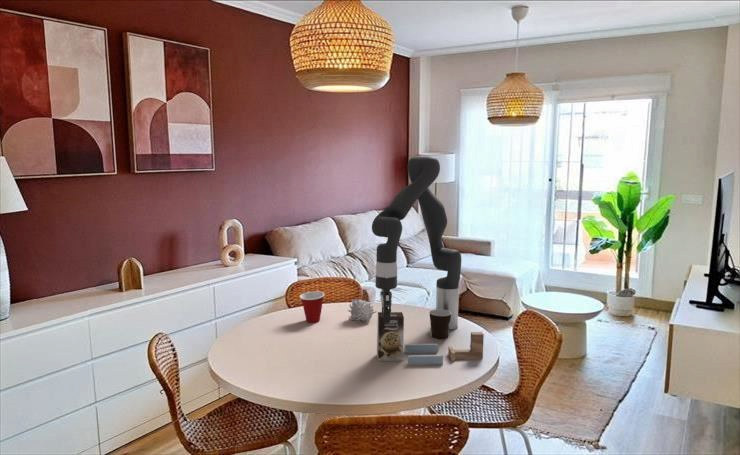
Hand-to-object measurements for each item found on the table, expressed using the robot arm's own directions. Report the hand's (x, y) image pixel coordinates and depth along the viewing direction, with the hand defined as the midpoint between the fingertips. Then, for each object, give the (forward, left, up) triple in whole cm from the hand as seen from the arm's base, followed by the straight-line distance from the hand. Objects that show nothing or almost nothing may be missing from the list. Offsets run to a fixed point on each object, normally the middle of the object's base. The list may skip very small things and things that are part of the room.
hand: (385, 318), depth 182 cm
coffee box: (-1, +2, -15) cm, 15 cm away
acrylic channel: (0, +14, -15) cm, 20 cm away
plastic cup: (-42, -29, -15) cm, 53 cm away
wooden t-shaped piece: (0, +29, -15) cm, 33 cm away
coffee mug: (-22, +24, -15) cm, 36 cm away
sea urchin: (-42, -8, -15) cm, 45 cm away
